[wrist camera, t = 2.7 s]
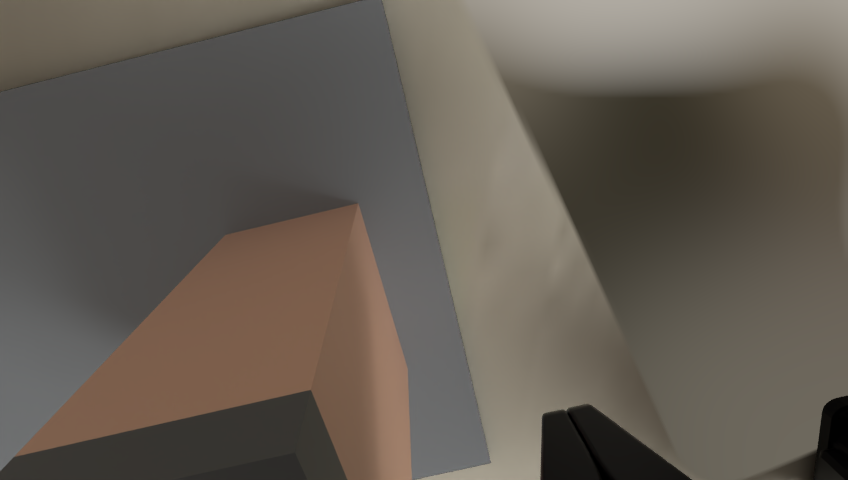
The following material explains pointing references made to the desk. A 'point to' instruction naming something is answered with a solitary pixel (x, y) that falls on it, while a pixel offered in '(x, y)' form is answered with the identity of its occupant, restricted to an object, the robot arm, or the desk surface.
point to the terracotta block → (247, 372)
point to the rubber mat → (216, 205)
